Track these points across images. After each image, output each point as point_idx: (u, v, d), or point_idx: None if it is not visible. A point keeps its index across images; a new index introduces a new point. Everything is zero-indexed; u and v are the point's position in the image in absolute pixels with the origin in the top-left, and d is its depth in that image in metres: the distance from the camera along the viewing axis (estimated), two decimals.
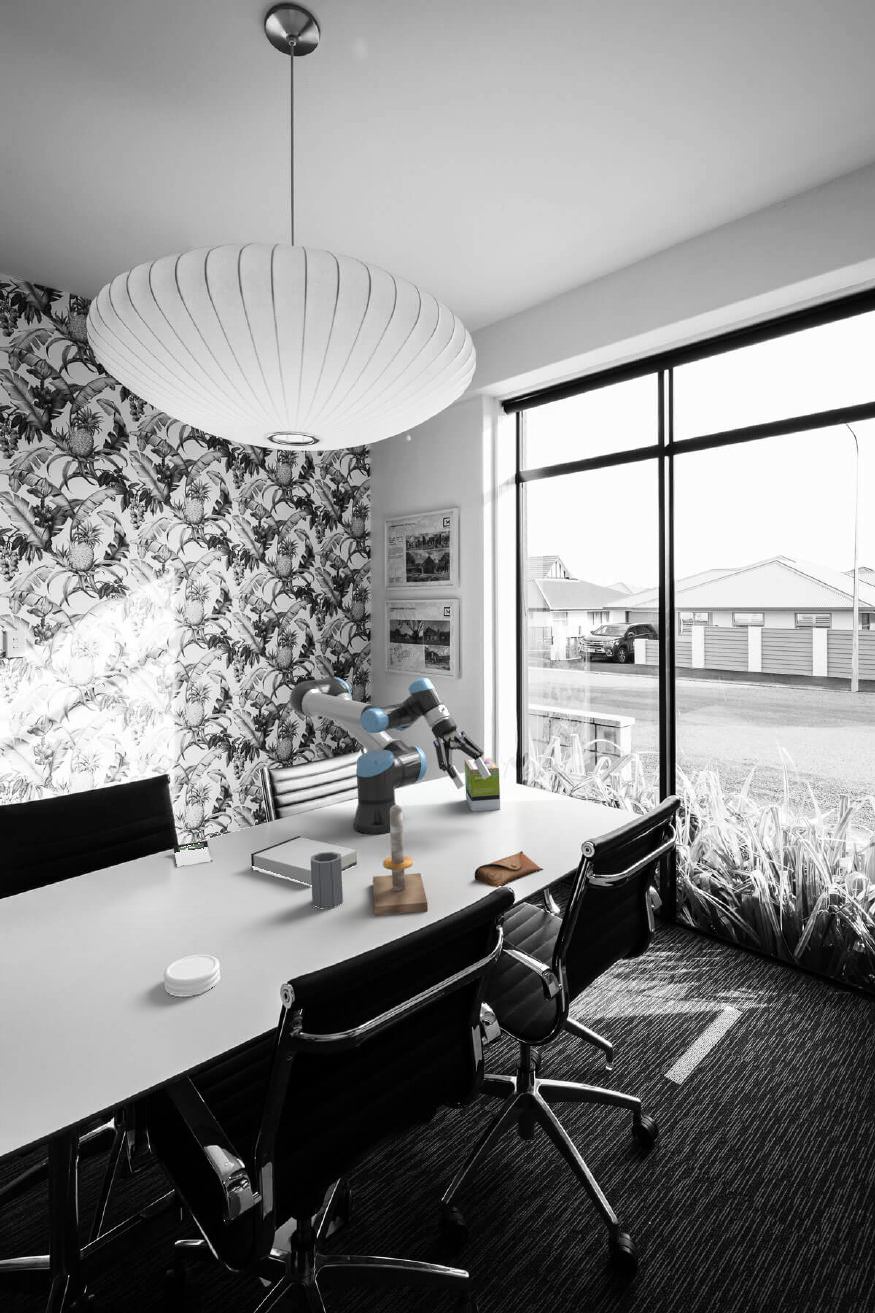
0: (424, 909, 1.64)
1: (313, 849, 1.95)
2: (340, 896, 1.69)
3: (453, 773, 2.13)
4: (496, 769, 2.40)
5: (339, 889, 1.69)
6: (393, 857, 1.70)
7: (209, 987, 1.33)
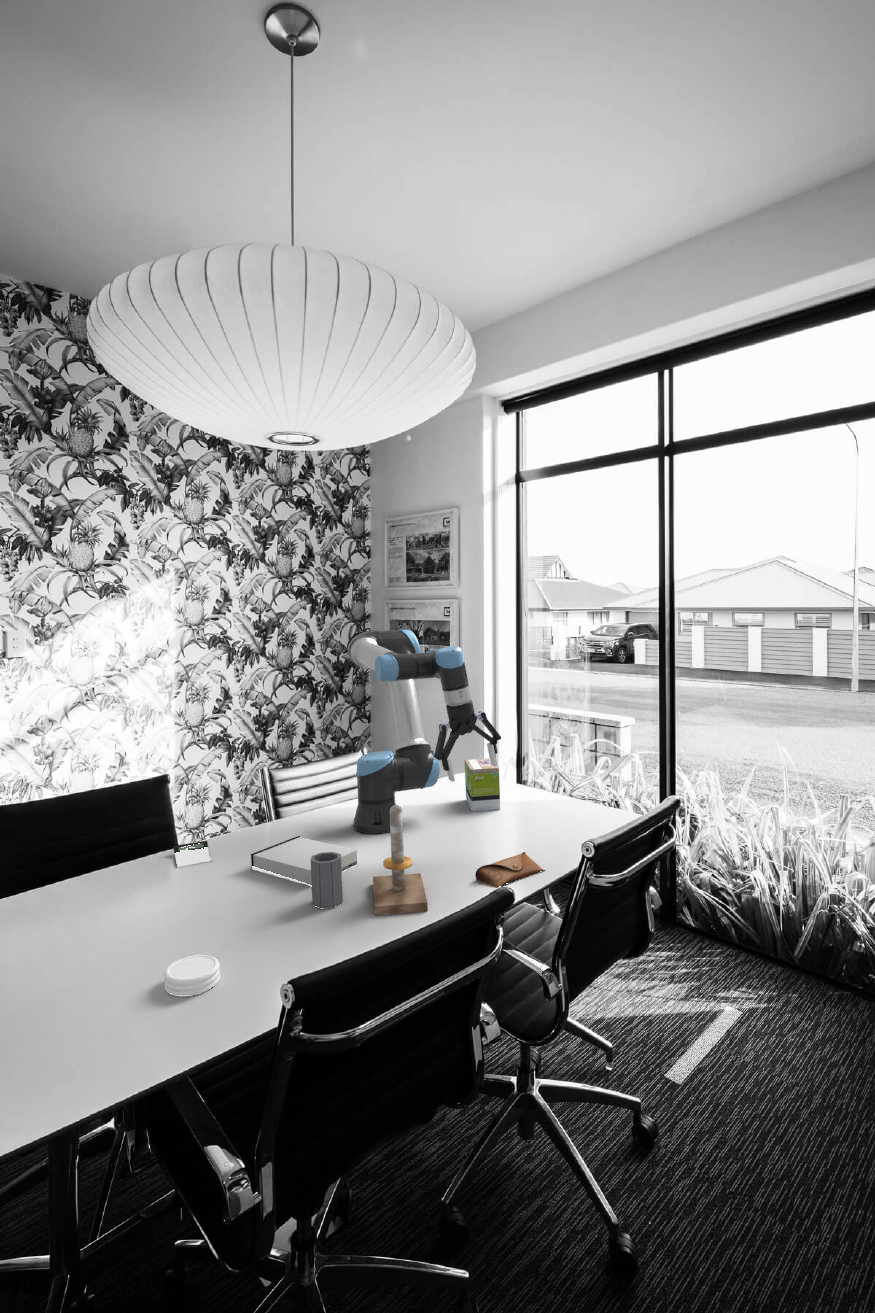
0: (424, 909, 1.64)
1: (312, 849, 1.95)
2: (340, 896, 1.69)
3: (446, 767, 2.00)
4: (496, 769, 2.40)
5: (339, 889, 1.69)
6: (393, 857, 1.70)
7: (209, 987, 1.33)
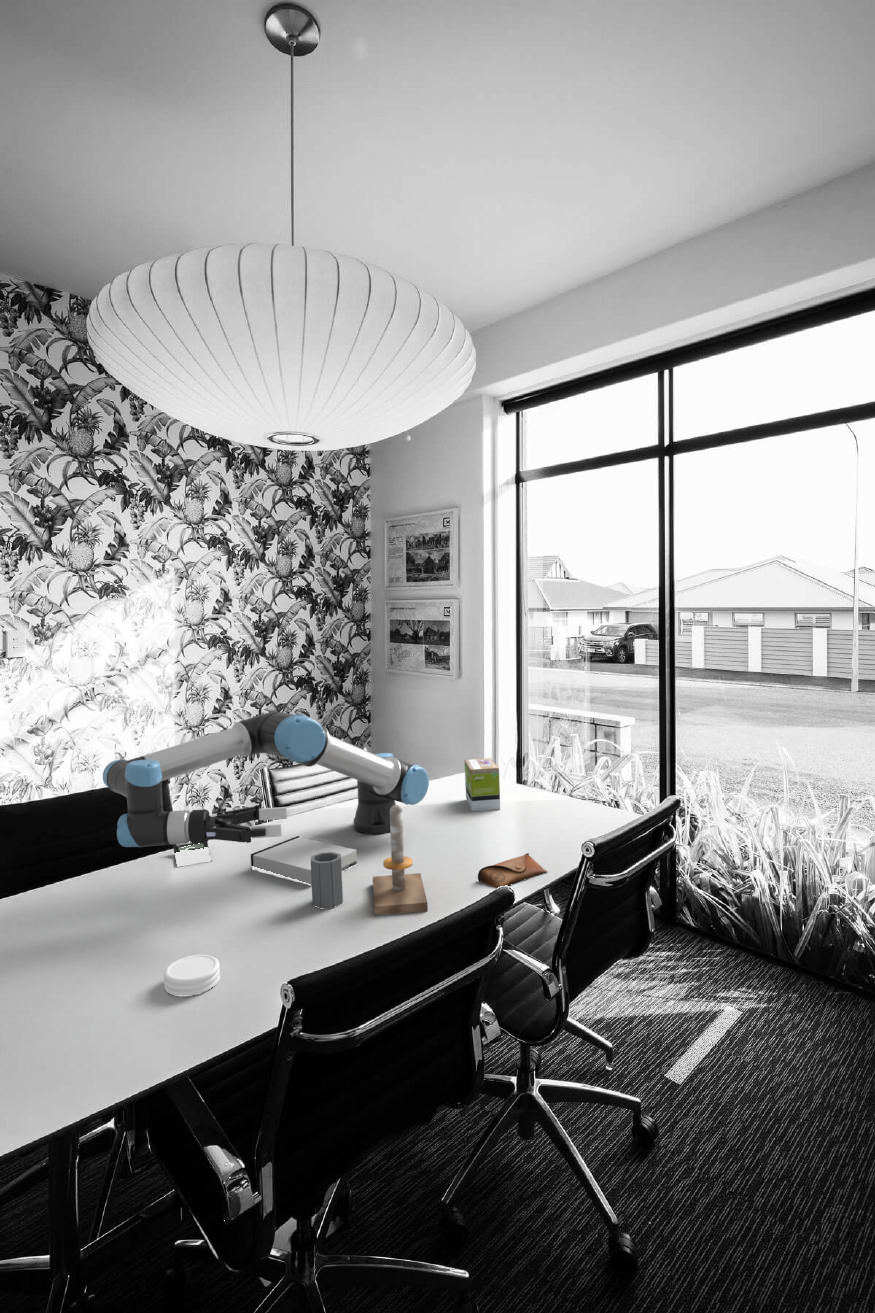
0: (424, 909, 1.64)
1: (312, 849, 1.96)
2: (340, 896, 1.69)
3: None
4: (496, 769, 2.40)
5: (339, 889, 1.69)
6: (393, 857, 1.70)
7: (209, 987, 1.33)
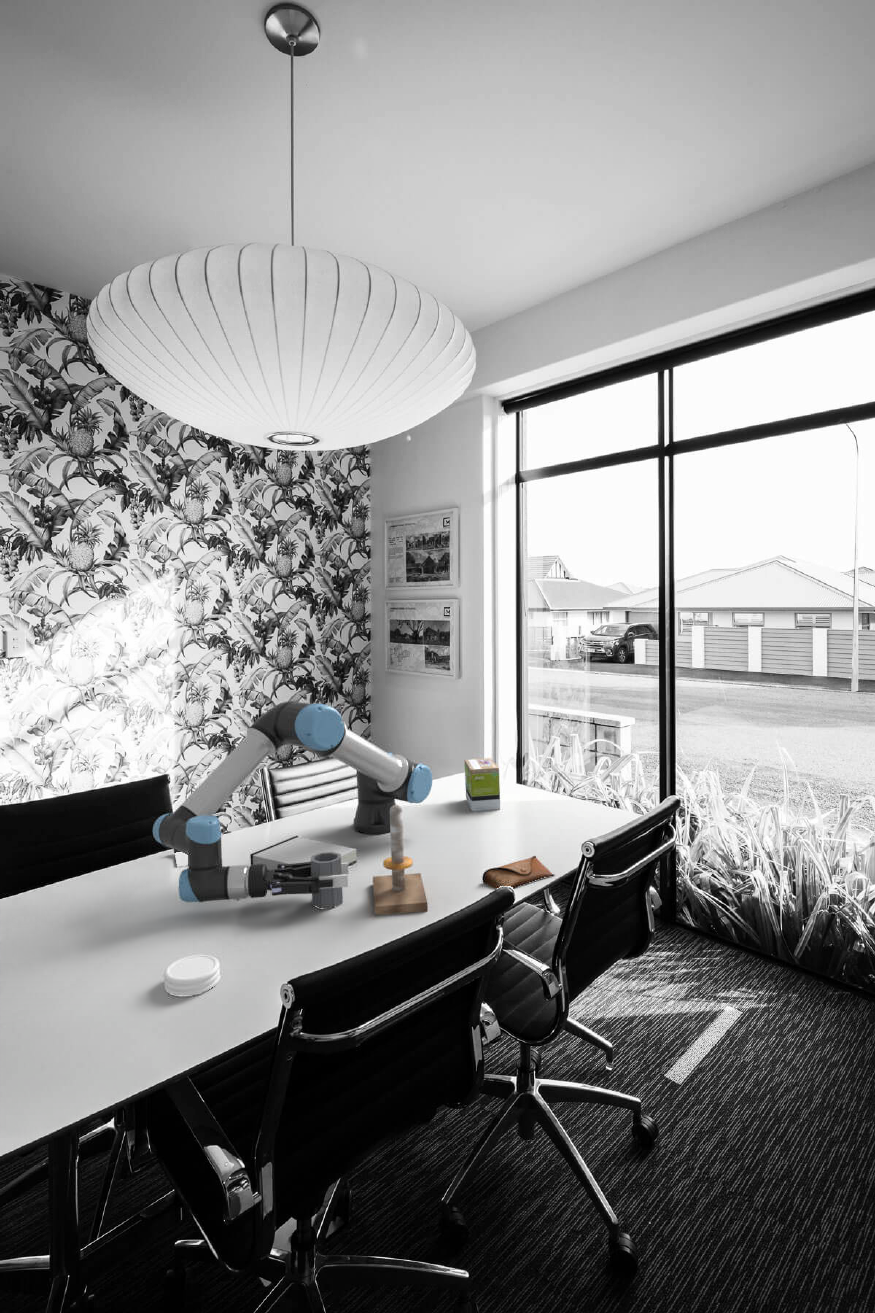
0: (424, 909, 1.64)
1: (312, 849, 1.96)
2: (340, 896, 1.69)
3: None
4: (496, 769, 2.40)
5: (339, 889, 1.69)
6: (393, 857, 1.70)
7: (209, 987, 1.33)
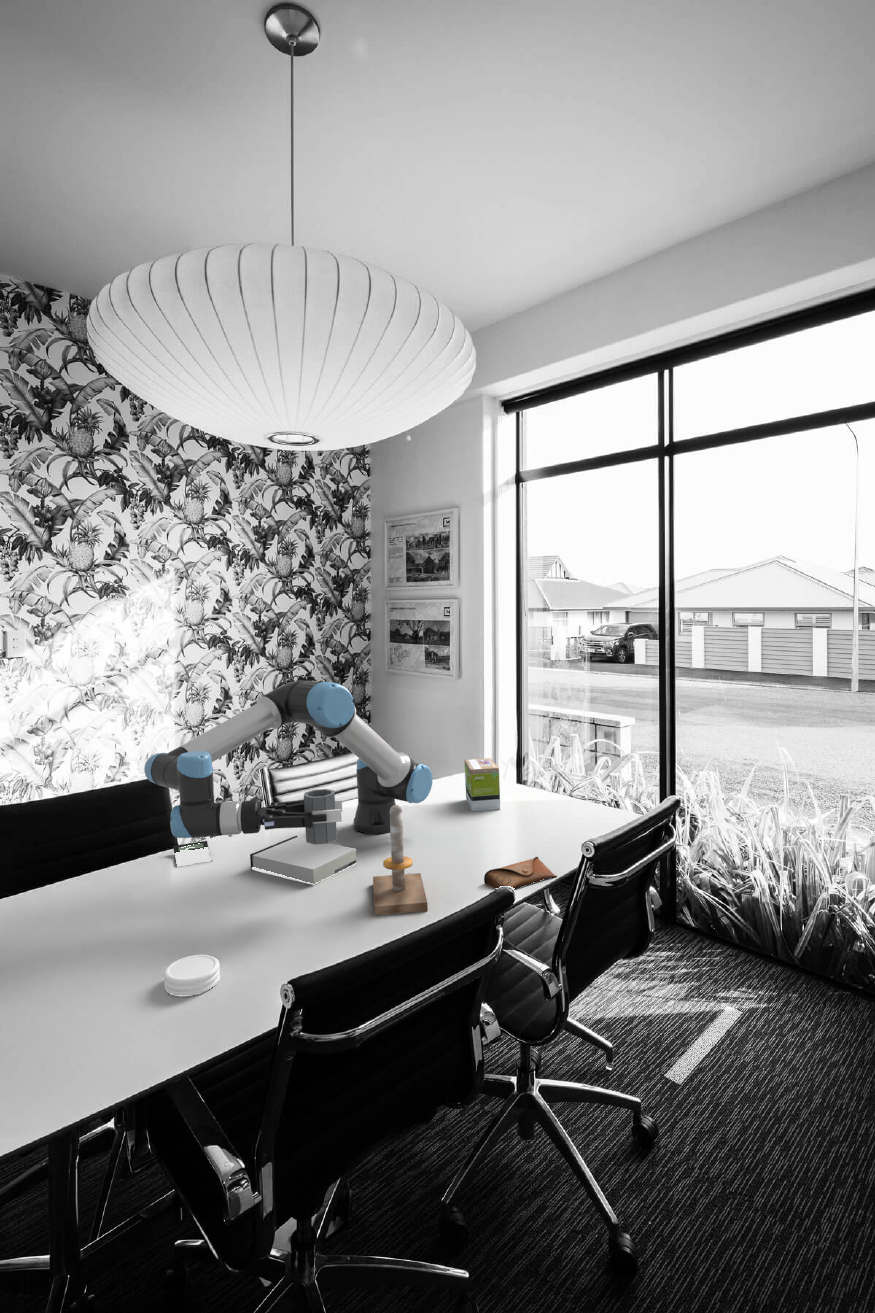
0: (424, 909, 1.64)
1: (312, 848, 1.96)
2: (334, 832, 1.67)
3: None
4: (496, 769, 2.40)
5: (333, 825, 1.67)
6: (393, 857, 1.70)
7: (209, 987, 1.33)
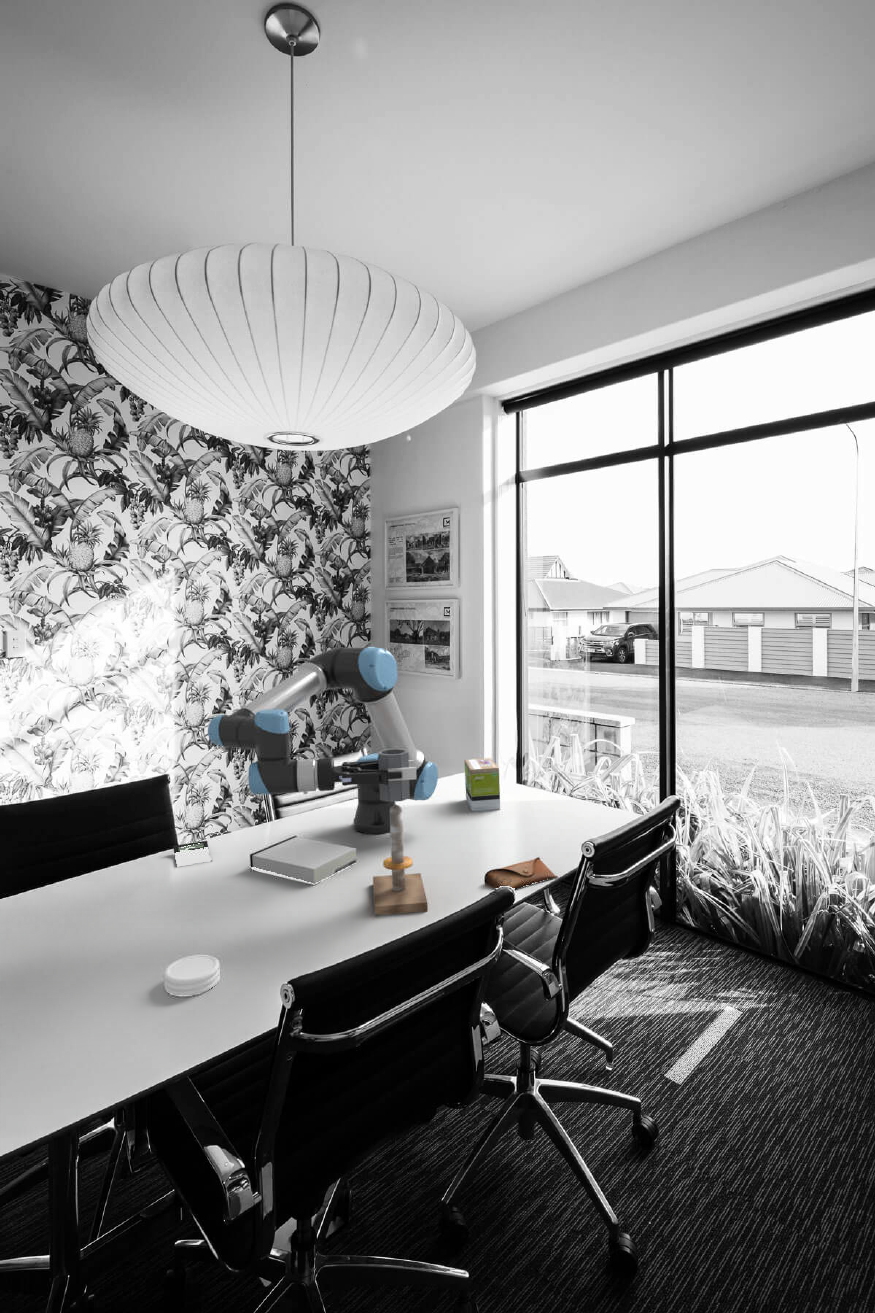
0: (424, 909, 1.64)
1: (311, 848, 1.96)
2: (408, 790, 1.69)
3: None
4: (496, 769, 2.40)
5: (407, 783, 1.69)
6: (393, 857, 1.70)
7: (209, 987, 1.33)
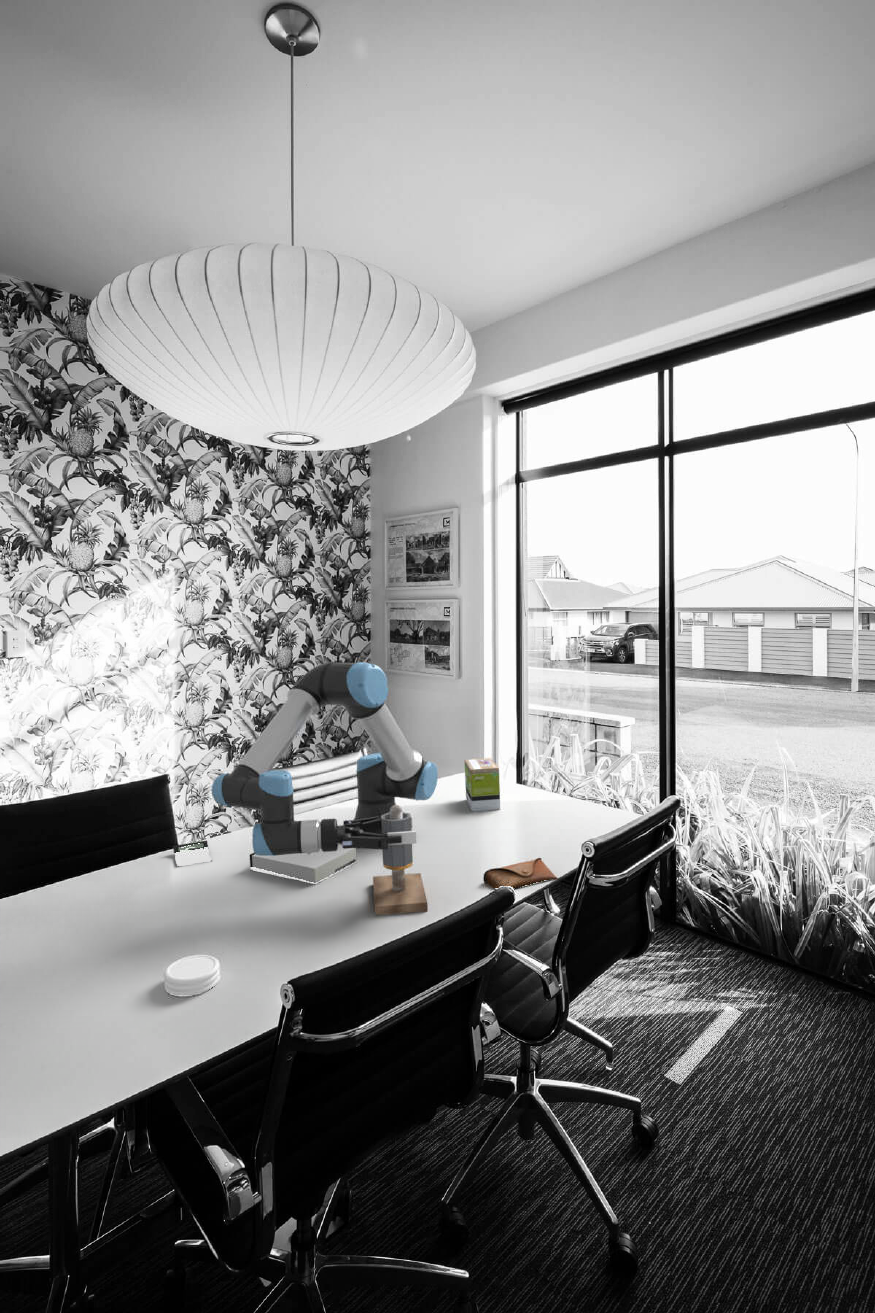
0: (424, 909, 1.64)
1: None
2: (410, 854, 1.70)
3: None
4: (496, 769, 2.40)
5: (410, 848, 1.70)
6: None
7: (209, 987, 1.33)
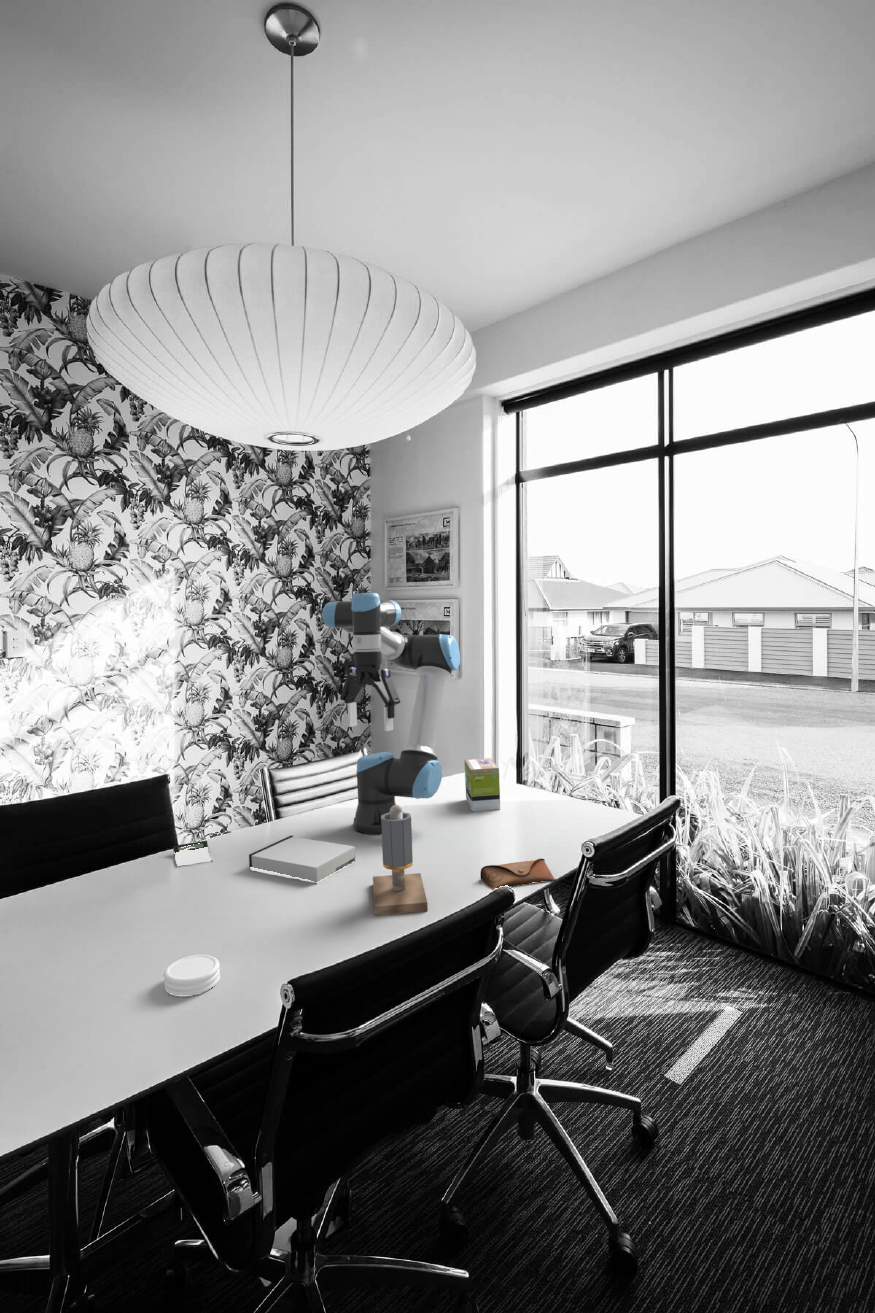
0: (424, 909, 1.64)
1: (310, 847, 1.97)
2: (410, 854, 1.70)
3: (347, 710, 1.99)
4: (496, 769, 2.40)
5: (410, 848, 1.70)
6: None
7: (209, 987, 1.33)
